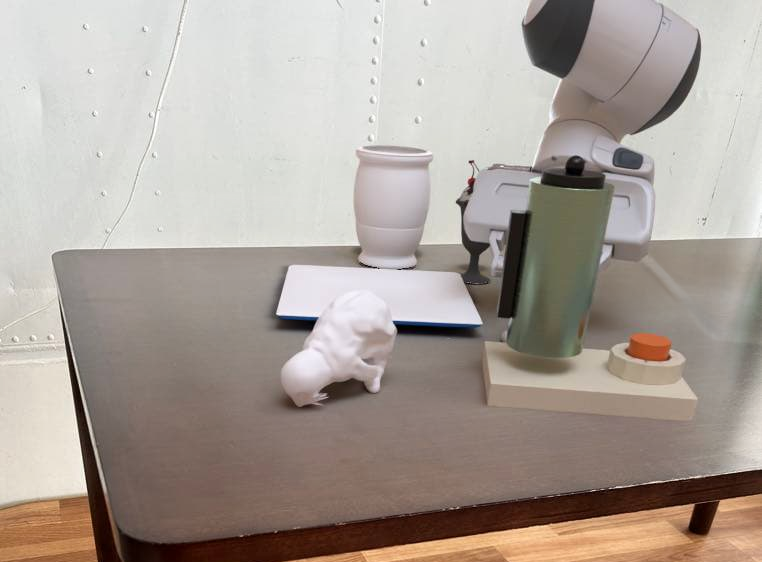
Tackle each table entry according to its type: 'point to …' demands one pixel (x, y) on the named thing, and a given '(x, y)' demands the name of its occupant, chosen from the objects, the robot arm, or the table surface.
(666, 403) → the kettle base
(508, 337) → the kettle
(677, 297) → the table surface
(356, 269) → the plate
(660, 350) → the kettle switch
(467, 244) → the sundae
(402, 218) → the jar
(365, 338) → the white hunched creature figure
